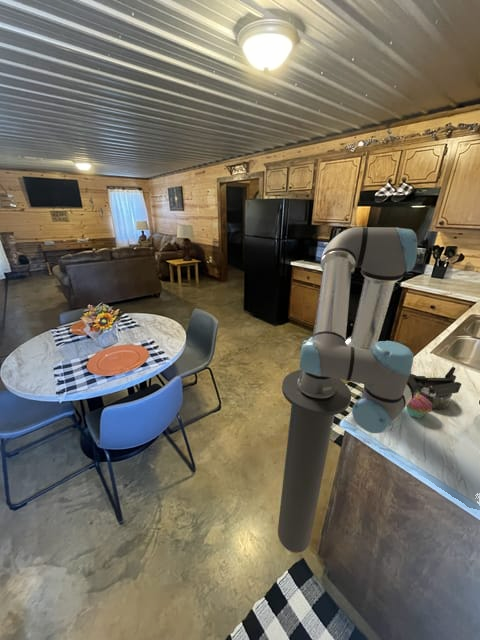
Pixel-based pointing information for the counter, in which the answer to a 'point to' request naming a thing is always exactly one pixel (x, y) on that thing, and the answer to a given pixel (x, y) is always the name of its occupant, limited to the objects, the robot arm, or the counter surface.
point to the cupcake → (419, 406)
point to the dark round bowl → (439, 400)
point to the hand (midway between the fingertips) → (424, 361)
